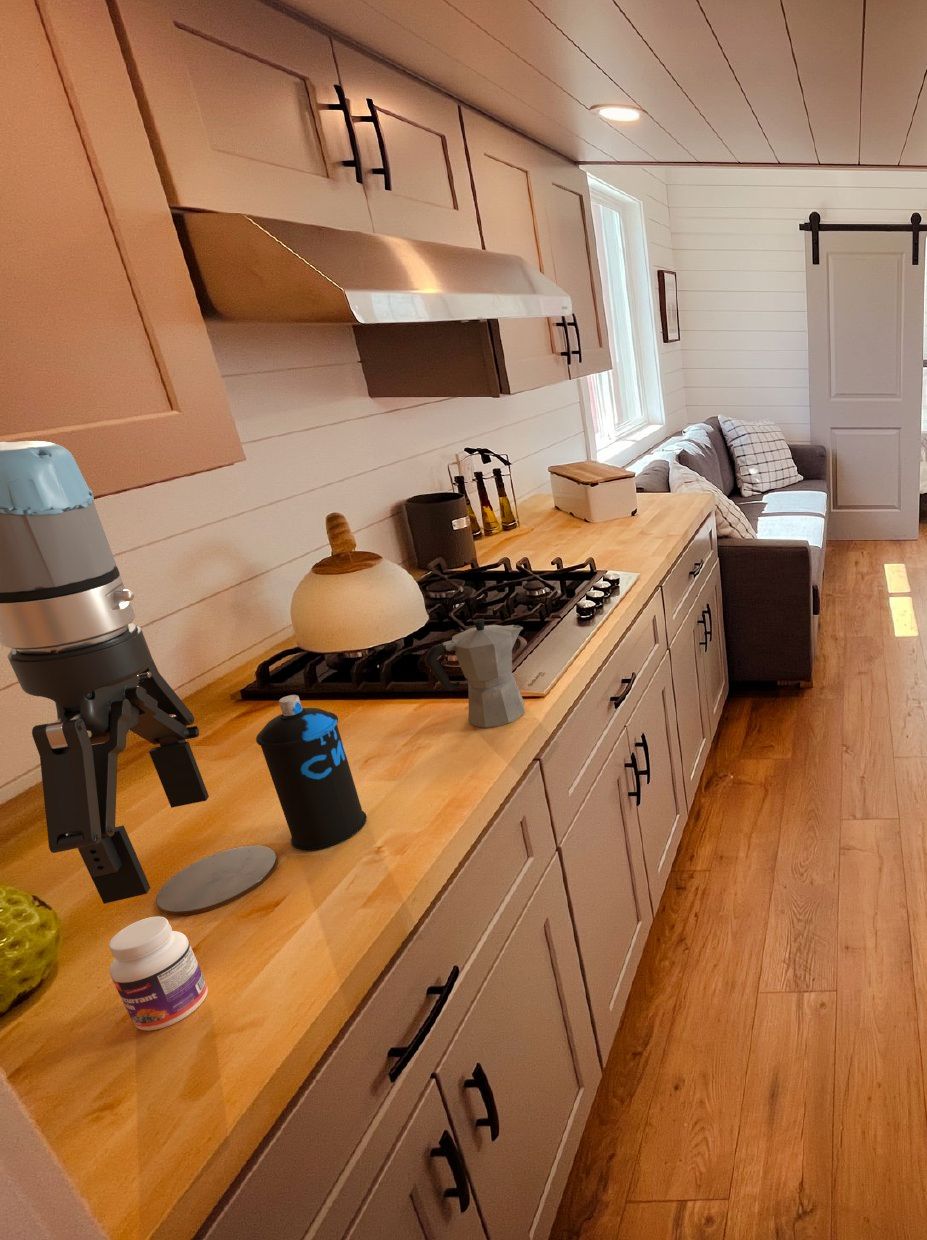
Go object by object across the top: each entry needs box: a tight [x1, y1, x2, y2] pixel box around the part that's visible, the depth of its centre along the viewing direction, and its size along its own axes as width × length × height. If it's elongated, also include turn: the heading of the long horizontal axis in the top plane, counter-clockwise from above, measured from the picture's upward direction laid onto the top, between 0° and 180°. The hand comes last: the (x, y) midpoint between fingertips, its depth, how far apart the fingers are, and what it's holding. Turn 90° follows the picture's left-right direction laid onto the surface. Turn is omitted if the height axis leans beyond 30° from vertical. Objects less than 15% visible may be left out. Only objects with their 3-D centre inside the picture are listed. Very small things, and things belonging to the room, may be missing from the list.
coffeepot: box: [424, 618, 526, 729], centre depth 118 cm, size 15×9×18 cm, turn 139°
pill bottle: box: [108, 915, 209, 1031], centre depth 68 cm, size 5×5×10 cm
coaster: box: [155, 844, 279, 917], centre depth 85 cm, size 11×11×1 cm
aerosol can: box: [255, 694, 368, 851], centre depth 91 cm, size 8×8×20 cm
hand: (161, 845), depth 65 cm, fingers open, 13 cm apart
